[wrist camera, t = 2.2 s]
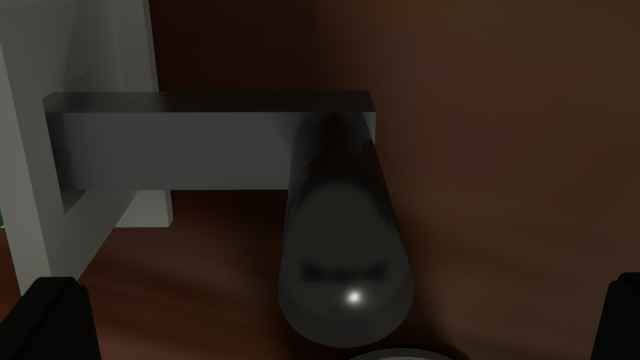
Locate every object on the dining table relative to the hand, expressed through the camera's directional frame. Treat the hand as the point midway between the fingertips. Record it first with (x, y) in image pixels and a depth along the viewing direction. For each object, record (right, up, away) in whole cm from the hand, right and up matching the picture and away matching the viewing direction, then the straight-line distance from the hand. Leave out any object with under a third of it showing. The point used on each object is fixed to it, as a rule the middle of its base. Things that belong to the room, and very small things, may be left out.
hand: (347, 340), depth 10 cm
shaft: (-9, +5, +13) cm, 17 cm away
